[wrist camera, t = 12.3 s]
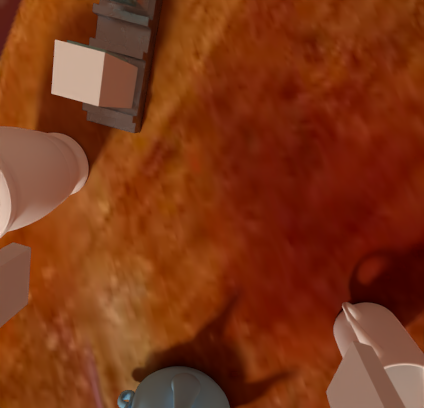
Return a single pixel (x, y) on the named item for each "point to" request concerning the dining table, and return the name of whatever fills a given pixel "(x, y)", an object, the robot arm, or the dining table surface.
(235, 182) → the dining table surface
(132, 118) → the rail
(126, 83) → the block
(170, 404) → the teapot
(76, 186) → the jar
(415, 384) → the mug
